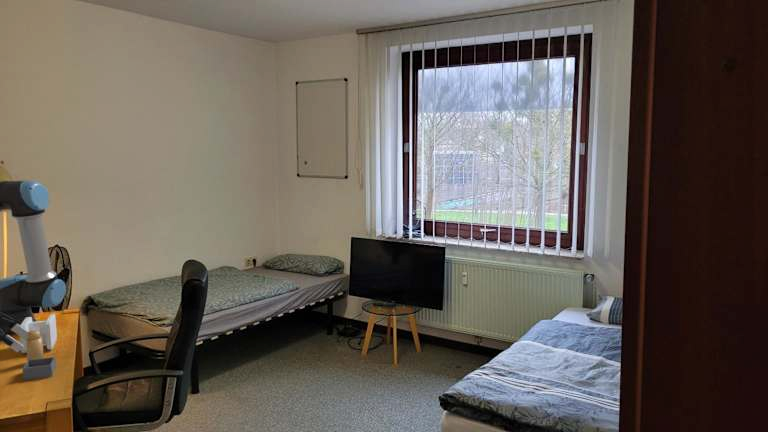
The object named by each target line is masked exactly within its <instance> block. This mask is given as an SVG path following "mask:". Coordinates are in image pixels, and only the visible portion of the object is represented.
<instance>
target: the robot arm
mask: <svg viewBox="0 0 768 432" xmlns="http://www.w3.org/2000/svg"><path fill="white" fill-rule="evenodd" d="M49 202H50V194H49V190H48V189H47V188H46V186H45V185H44V184H42V183H41V182H39V181H33V180H0V212H1V211H5V210H6V211H8V210H9V211H10V212H11V213H10V215H11V217H12V218H14V219H16V221H17V224H18V230H19V234H20V241H21V244H22V245H21V246H22V249H23V255H24V260H25V265H26V270H27V274H18V275H12V276H8V277H7V276H6V277H4V278H0V343H3V344H4V345H6V346H7V347H9V348H10V349H11V350H14V351H15V352H16V353H19V352H20V351H21V349H22V348H23V347H24V346H23V345H22V344H21V342H20V341H18V340H16V338H13V337H12V336H13V335H18V336H19V338H20V337H22V338H23V339H25V340H26V339H28V335H27V333H28V331H27V330H25V329H24V328H23V327H21V326H20V325H21V324H22V322H23V321H24V319H25V318H26V317H32V321H33V322H37V319H36V318H35V316H34V314H33V312H32V308H46V309H47V308H54V307H57V306H58V305H60V304H61V302H63V299H64V298H65V295H66V291H67V285H66V283H65V281H63V280H62V279H60V278H59V279H58V274H57V272H56V271H54V270H53V269H52V265H51V264H52V263H51V257H50V254H49V248H48V243H47V238H46V232H45V227H44V223H43V217H42V216H44V214H45V212H46V209H47V208H48V206H49Z"/></svg>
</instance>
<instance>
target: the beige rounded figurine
mask: <svg viewBox="0 0 768 432" xmlns="http://www.w3.org/2000/svg"><path fill="white" fill-rule="evenodd" d="M27 335H28V339H26V348H27V353H26V358H27V360H26V362H27V361H28V360H33V359H42V358H45V357H44V346H43V343H42V337H40V331H39V330H34V331H29V332H28V333H27Z"/></svg>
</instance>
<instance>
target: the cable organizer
mask: <svg viewBox="0 0 768 432" xmlns="http://www.w3.org/2000/svg"><path fill="white" fill-rule="evenodd" d="M56 319H57V318H56V314H55V313H51V314H49V316H48V318H47V319H46V320H40V321H39V320H38V321H37V320H36V322H33V321H32V317H26V318H25V319H24V321H23V322H22V324H21V325H20V326H21V327H23V328H24V329H25V330H27V331H28V332H29V331H34V330H39V331H40V337H42V343H43V347H45V346H46V348H47V350H49V351H52V350H53V349H54V346H55V344H56V343H57V339H58V333H57V321H56ZM19 343H21V344H22V345H23V346H24V347H23V348H22V349H21V350H20V351H21V353H22V354H27V348H26V340H25V339H23V338H22V337H20V336H19Z"/></svg>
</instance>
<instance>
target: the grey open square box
mask: <svg viewBox="0 0 768 432" xmlns="http://www.w3.org/2000/svg"><path fill="white" fill-rule="evenodd" d="M56 361H57V360H56V356H52V357H51V356H50V357H44V358H42V359H33V360H28V361H27V360H26V363H25V364H24V366H23V367H22V377H23V381H27V380H36V379H43V378H50V377H53V375H54V373H55V372H56V369H57V363H56Z"/></svg>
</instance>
